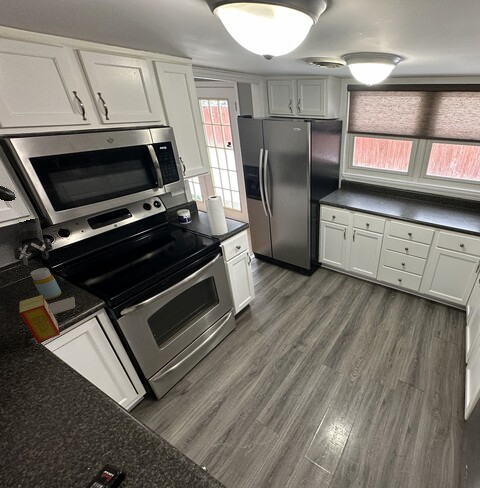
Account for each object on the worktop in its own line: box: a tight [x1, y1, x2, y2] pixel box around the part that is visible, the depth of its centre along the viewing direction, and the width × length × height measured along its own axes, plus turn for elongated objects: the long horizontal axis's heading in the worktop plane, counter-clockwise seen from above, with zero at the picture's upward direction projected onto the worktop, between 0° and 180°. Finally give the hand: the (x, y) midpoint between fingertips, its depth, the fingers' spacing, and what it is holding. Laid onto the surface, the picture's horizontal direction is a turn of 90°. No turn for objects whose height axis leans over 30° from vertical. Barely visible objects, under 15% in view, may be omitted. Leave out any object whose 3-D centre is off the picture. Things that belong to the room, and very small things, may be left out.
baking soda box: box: [19, 294, 61, 344], centre depth 107 cm, size 10×6×16 cm
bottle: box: [30, 267, 62, 301], centre depth 129 cm, size 7×7×15 cm
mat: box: [47, 296, 76, 316], centre depth 125 cm, size 12×11×1 cm
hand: (35, 262), depth 127 cm, fingers open, 8 cm apart
